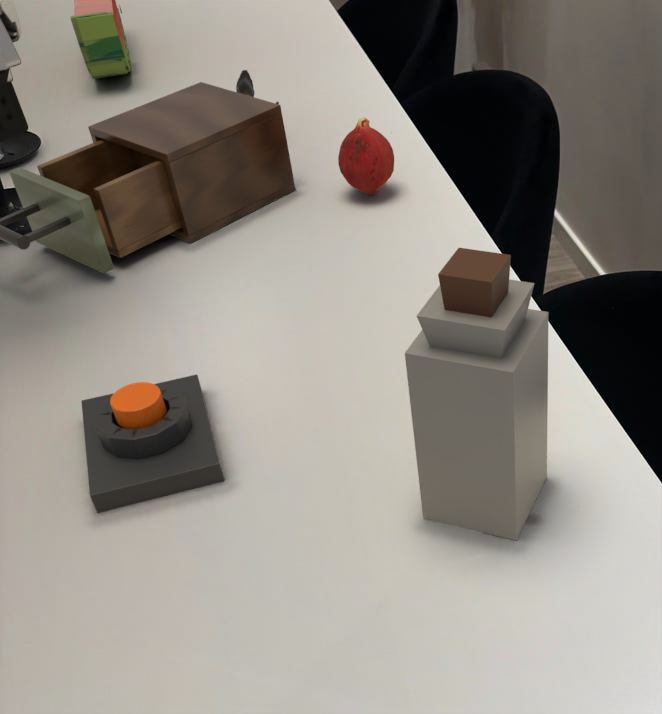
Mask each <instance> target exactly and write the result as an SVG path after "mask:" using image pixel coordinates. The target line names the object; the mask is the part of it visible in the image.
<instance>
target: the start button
mask: <svg viewBox="0 0 662 714" xmlns="http://www.w3.org/2000/svg"><path fill="white" fill-rule="evenodd" d="M154 384H155V383H152V382H146V381H145V382H144V381H141V382H139V381H138V382H132V383H130V384H127V385H124V386H122V387H120V388H118V389H117V390H116V391H115V392H113V393H114V394H113V393H112V394H113V395H112V397H111V399H110V405H111V407H112V410H113V413H114V415H115V418H116V421H117V423H118V424H119V426H121V427H122V428H126V429H139V428H144V427H148V426H151V425H153V424H155V423H157V422H158V421H160V420H162V419H163V418H164V417H165V415H166V411H167V409H166V406H165V403H164V400H163V397H162V394H161V391H160V389H159V388H158V387H157V386H156V385H154Z"/></svg>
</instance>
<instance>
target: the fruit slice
mask: <svg viewBox="0 0 662 714" xmlns="http://www.w3.org/2000/svg"><path fill="white" fill-rule="evenodd" d="M73 1H74V2H73V3H74V10H73V11H74V12H73V14H74V15H71V16H70V22H71V25H72V28H73V31H74V34H75V38H76V41H77V43H78V47H79V50H80V53H81V56H82V58H83V61H84V64H85V66H86V69H87V72H88V73H89V75H90V76H91V78H92V80H95V79H96V80H97V79H102V78H103V79H104V78H109V77H115V76H122V75H127V74H129V73H130V72H132V67H131V66H130V64H131V59H129V58H130V52H129V48H127V47H128V43H127V38H126V37H127V36H126V34H125V28H124V25H123V21H122V17H121V14H123V11H122V8H121V5H120V4H118V5H117V1H116V0H73ZM118 6H119V7H118ZM130 69H131V70H130Z"/></svg>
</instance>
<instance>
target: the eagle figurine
mask: <svg viewBox="0 0 662 714" xmlns="http://www.w3.org/2000/svg"><path fill="white" fill-rule="evenodd" d="M235 90H236V92H237V93H241V94H244V95H248V96H251V97H255V89H254V84H253V79H252V78H251V75H250V73H249V72H248V69H242V71H241V72H240V74H239V77H238V79H237V82H236V85H235ZM274 103H275V104H279V105H280V102H279V101H277V100H276V102H274Z"/></svg>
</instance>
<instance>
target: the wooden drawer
mask: <svg viewBox="0 0 662 714" xmlns="http://www.w3.org/2000/svg"><path fill="white" fill-rule="evenodd" d="M36 169H37V171H38V173H35V172H32V171H30V170H27V169H25V168H23V167H20V166H19V167H17V168H14V169H12V170H9V176H10V178H11V180H12V182H13V186H14V188H15V191H16V193H17V196H18V198H19V201H20V204H21V206H22V208H21V209H19V210H16V211H15V212H11V213H10V214H7V215H5V216H3V217H0V241H3V242H5V243H7V244H10V245H11V246H14V247H16V248H18V249H19V250H27V249H28V248H29V247H30V245H31V243H33V242H34V241H35V242H36V243H37V244H40V245H42V246H44V247H46V248H48V249H50V250H53V251H55V252H57V253H59V254H61V255H63V256H65V257H67V258H70V259H72V260H74V261H76V262H78V263H81V264H83V265H85V266H87V267H89V268H92V269H93V270H96V271H98V272H100V273H102V274H106V273H108V272H111V271H113V270H114V269H115V267H114V265H113V261H112V257H111V255H113V256H115V257H117V258H120V259H121V258H123V257H126V256H128V255H129V254H132V253H133V252H136V251H138V250H140V249H143V248H144V247H146V246H148V245H150V244H152V243H154V242H156V241H158V240H160V239H162V238H164V237H166V236H168V235H170V233H172V232H174V231H176V230H178V229H180V228H182V225H181V221H180V218H179V214H178V210H177V207H176V203H175V199H174V196H173V192H172V188H171V184H170V181H169V177H168V173H167V170H166V166H165V162H164V161H163V160H161V159H158V158H155V157H152V156H150V155H147V154H144V153H141V152H138V151H136V150H133V149H130V148H127V147H124V146H122V145H119V144H116V143H113V142H111V141H108V140H105V139H102V140H99V141H97V142H94V143H93V142H92V143H90V144H87V145H85V146H82V147H80V148H77V149H75V150H72V151H70V152H68V153H65V154H62V155H60V156H58V157H55V158H52V159H49V160H48V161H46V162H43V163H40V164H38V165H36ZM25 218H26V220H27V222H28V223H29V227H30V229H31V232H30V231H29V232H28V233H25V234H24V235H23V234H21V233H19V232H17V231H15V230H13V229H11V228H8V227H6V226H9V225H11V224H13V223H15V222H17V221H19V220H22V219H25Z"/></svg>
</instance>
